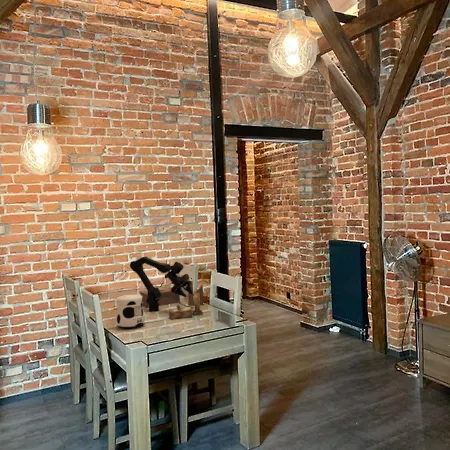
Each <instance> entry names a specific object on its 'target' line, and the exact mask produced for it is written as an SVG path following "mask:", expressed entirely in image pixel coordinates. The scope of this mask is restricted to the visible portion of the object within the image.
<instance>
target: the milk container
mask: <svg viewBox="0 0 450 450" xmlns="http://www.w3.org/2000/svg"><path fill="white" fill-rule="evenodd" d="M116 307H117V308H116V310H117V311H116V317H115V319H116V320H115V321H116V324H117V326H118V327H119V328H122V329H133V328H138V327H141V326H142V325H144V324H145V321H146V314H145V312H144V306H143V298H142V296H141V295H140V294H125V295H121V296H118V297H117V298H116Z"/></svg>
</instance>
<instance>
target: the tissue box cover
mask: <svg viewBox="0 0 450 450" xmlns="http://www.w3.org/2000/svg"><path fill="white" fill-rule="evenodd" d="M172 287H173V286H169V287H164V288H162V287H161V288H158V289H159V291H160V293H161V297H160V299H159V301H158V304H159V307H162V306H168V305H173V304H175V305H176V304H180V302H181V300H180V299H181V298H180V296H181V295H178V294H175V293H172V292H171V289H172ZM139 295H141V296H142V298H143V307H145V308H147V309H149V304H148V303H147V302H146V299H147V298H148V297H149V296H148V291H147V290H141V291H139Z"/></svg>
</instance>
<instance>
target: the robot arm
mask: <svg viewBox="0 0 450 450" xmlns="http://www.w3.org/2000/svg"><path fill="white" fill-rule="evenodd" d="M145 264H146V265H148V266H150V267H153V268H155V269H157V271H158V272H160V273H161V274H164V280H166V279H169V280H170V282H171V283H170V284H171V285H173V286H171V287H172V289H171V292H172V293H175V294H178V295H180V296H181V297H183V298H186V297H187V294H186V293H185V292H184V291H186V292H187V293H188V292H189V293H190V294H194V291H193V292H192V289H191V287H190V285H191V281H192V280H190V275H189V274H188V273H184V274H183V275H182V276H179V275H178V274H180V273H181V272H182V271H183V269H184V268H185V267H184V265H183V263H180V262H178V261H175V262H174V263H173V265H171V264H169V263H165V262H159V261H157V260H155V259H152V258H150V257H148V256H141V257H140V258H138V259H136V260H133V261H130V264H129V269H131V271H133V272H134V273H136V274H137V276H138V277H139V279H140V281H141V283H142V284H143V285H144V287H145V289H146V291H148V296H149V297H148V298H147V299H146V302H147V303H148V304H149V308H147V309H148V312H151V313H152V312H159V310H160V306H159V304H158V301H159V299H160V297H161V293H160V291H159V289H160V288H159V287H157V286H156V287H154V285H153V284H152V281H151V280H150V278H149V277H148V276H147V273H146V272H145V270H144V265H145Z"/></svg>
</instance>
